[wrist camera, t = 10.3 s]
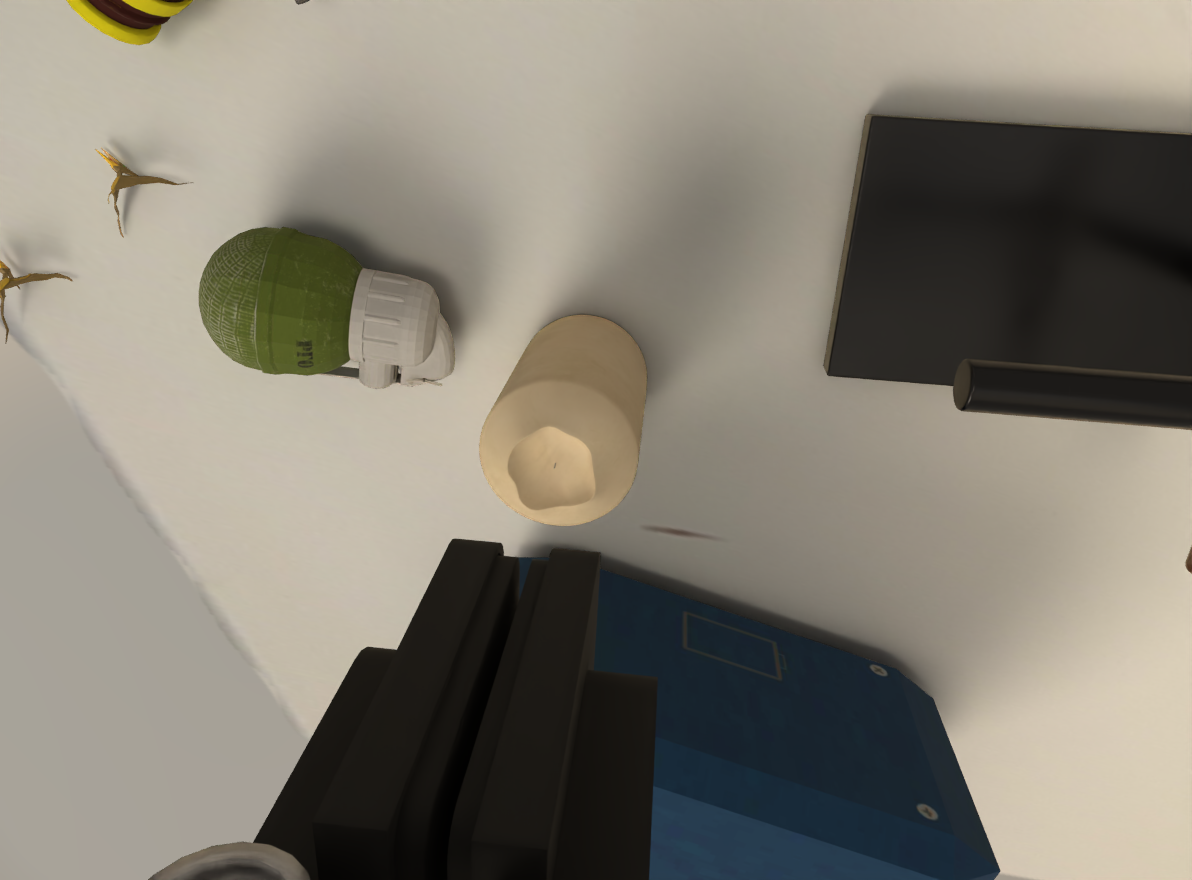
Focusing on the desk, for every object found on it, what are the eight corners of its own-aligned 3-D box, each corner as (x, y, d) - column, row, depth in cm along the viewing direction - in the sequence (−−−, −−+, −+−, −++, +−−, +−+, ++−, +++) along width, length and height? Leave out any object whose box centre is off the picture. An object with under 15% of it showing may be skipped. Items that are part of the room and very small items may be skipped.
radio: (477, 665, 44) (330, 1088, 26) (524, 526, 40) (393, 904, 22) (855, 790, 45) (971, 1284, 27) (934, 665, 41) (1130, 1138, 23)
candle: (673, 362, 37) (670, 460, 27) (599, 455, 39) (573, 575, 30) (567, 287, 36) (528, 362, 27) (498, 386, 38) (438, 487, 29)
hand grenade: (183, 401, 33) (441, 439, 35) (167, 256, 30) (457, 305, 31) (232, 324, 38) (457, 360, 39) (223, 189, 34) (473, 234, 36)
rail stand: (865, 113, 32) (1027, 156, 17) (1282, 138, 31) (1853, 207, 16) (822, 367, 36) (922, 584, 21) (1190, 396, 35) (1575, 647, 20)
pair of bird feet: (164, 169, 33) (223, 210, 36) (147, 107, 34) (205, 151, 37) (-69, 316, 35) (6, 344, 38) (-79, 253, 36) (-5, 284, 39)
